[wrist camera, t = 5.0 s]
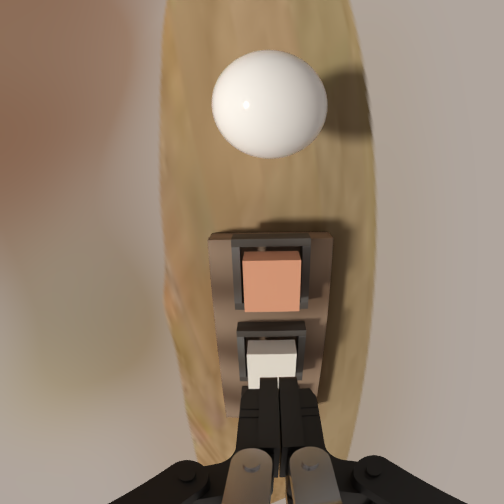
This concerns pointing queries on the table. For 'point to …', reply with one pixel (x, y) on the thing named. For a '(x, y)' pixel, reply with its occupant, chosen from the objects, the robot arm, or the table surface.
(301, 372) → the button board
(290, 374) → the offwhite button
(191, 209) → the table surface
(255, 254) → the terracotta button
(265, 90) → the lightbulb
